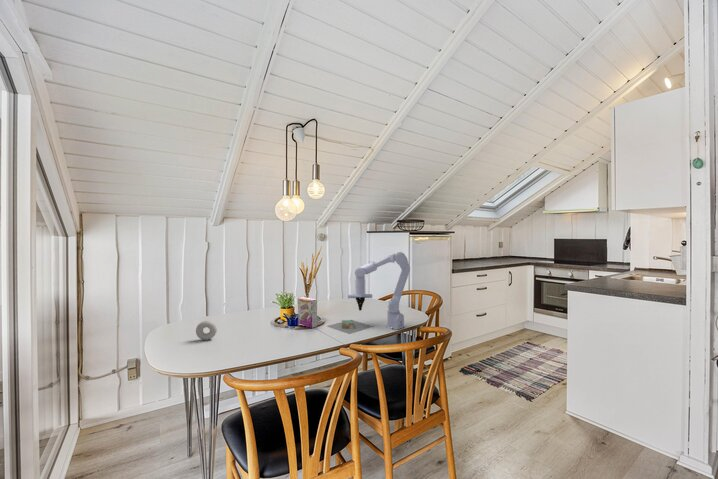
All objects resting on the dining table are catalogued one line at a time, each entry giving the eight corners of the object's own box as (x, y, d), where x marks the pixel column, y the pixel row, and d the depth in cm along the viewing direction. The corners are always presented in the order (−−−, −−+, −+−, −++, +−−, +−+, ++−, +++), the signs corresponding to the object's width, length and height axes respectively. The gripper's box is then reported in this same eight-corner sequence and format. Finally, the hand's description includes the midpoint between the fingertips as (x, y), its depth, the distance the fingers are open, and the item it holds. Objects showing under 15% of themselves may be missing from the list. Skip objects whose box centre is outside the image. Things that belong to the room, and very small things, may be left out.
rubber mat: (374, 327, 196) (374, 326, 196) (349, 334, 182) (349, 334, 182) (351, 320, 210) (351, 319, 210) (326, 326, 196) (326, 326, 196)
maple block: (353, 320, 198) (341, 320, 198) (354, 323, 192) (341, 323, 192) (353, 325, 198) (341, 325, 198) (354, 328, 192) (341, 328, 192)
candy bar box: (297, 325, 199) (297, 298, 198) (303, 323, 203) (303, 296, 202) (311, 328, 193) (311, 300, 192) (317, 326, 197) (317, 299, 196)
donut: (195, 341, 170) (194, 322, 169) (196, 339, 173) (196, 320, 173) (216, 340, 172) (216, 321, 172) (217, 338, 176) (217, 319, 175)
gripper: (348, 288, 194) (348, 312, 195) (373, 288, 196) (373, 311, 196) (347, 286, 201) (347, 309, 202) (371, 286, 203) (371, 308, 203)
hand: (360, 310), depth 199 cm, fingers closed
